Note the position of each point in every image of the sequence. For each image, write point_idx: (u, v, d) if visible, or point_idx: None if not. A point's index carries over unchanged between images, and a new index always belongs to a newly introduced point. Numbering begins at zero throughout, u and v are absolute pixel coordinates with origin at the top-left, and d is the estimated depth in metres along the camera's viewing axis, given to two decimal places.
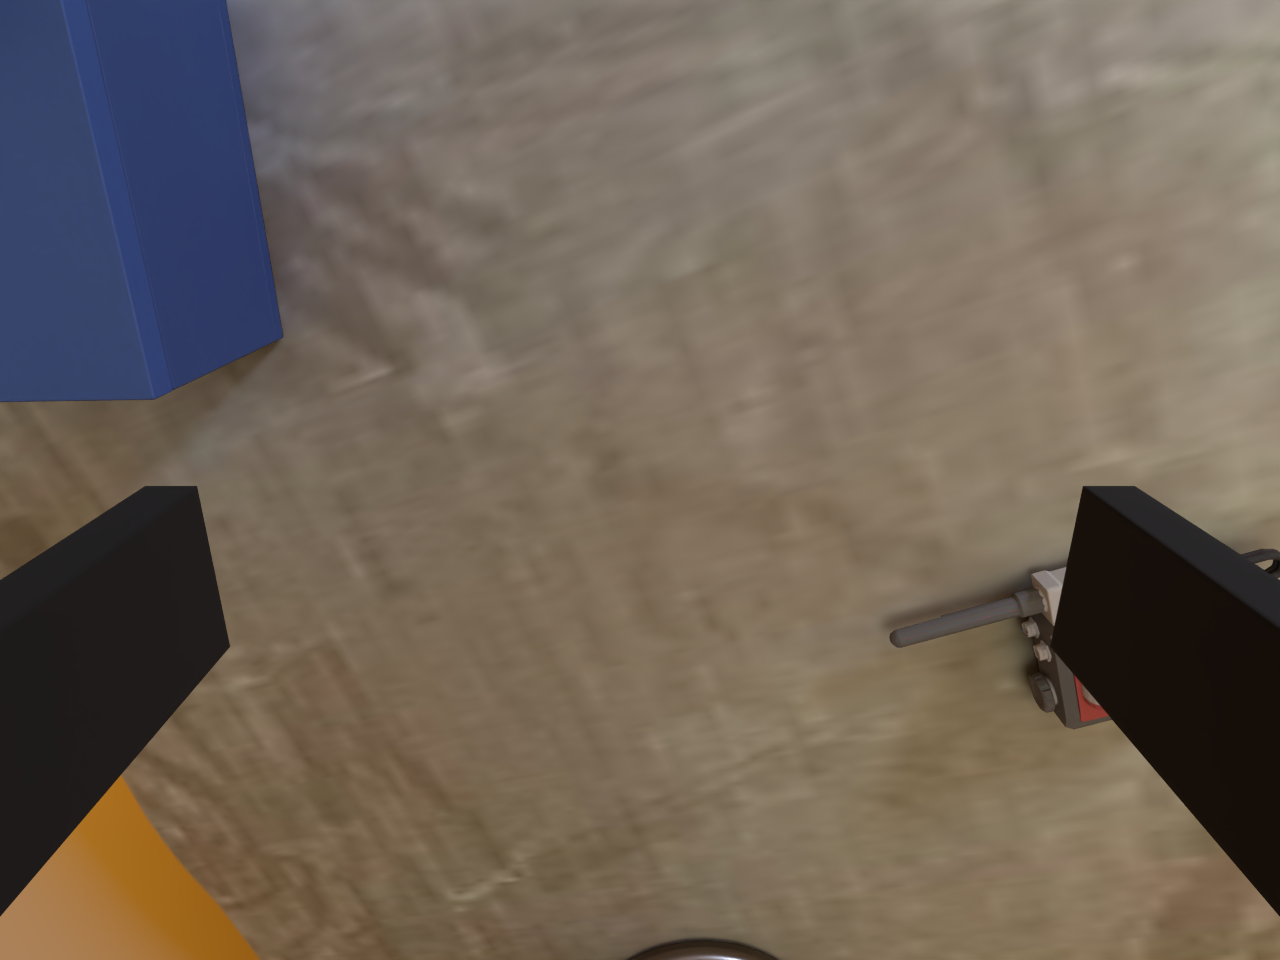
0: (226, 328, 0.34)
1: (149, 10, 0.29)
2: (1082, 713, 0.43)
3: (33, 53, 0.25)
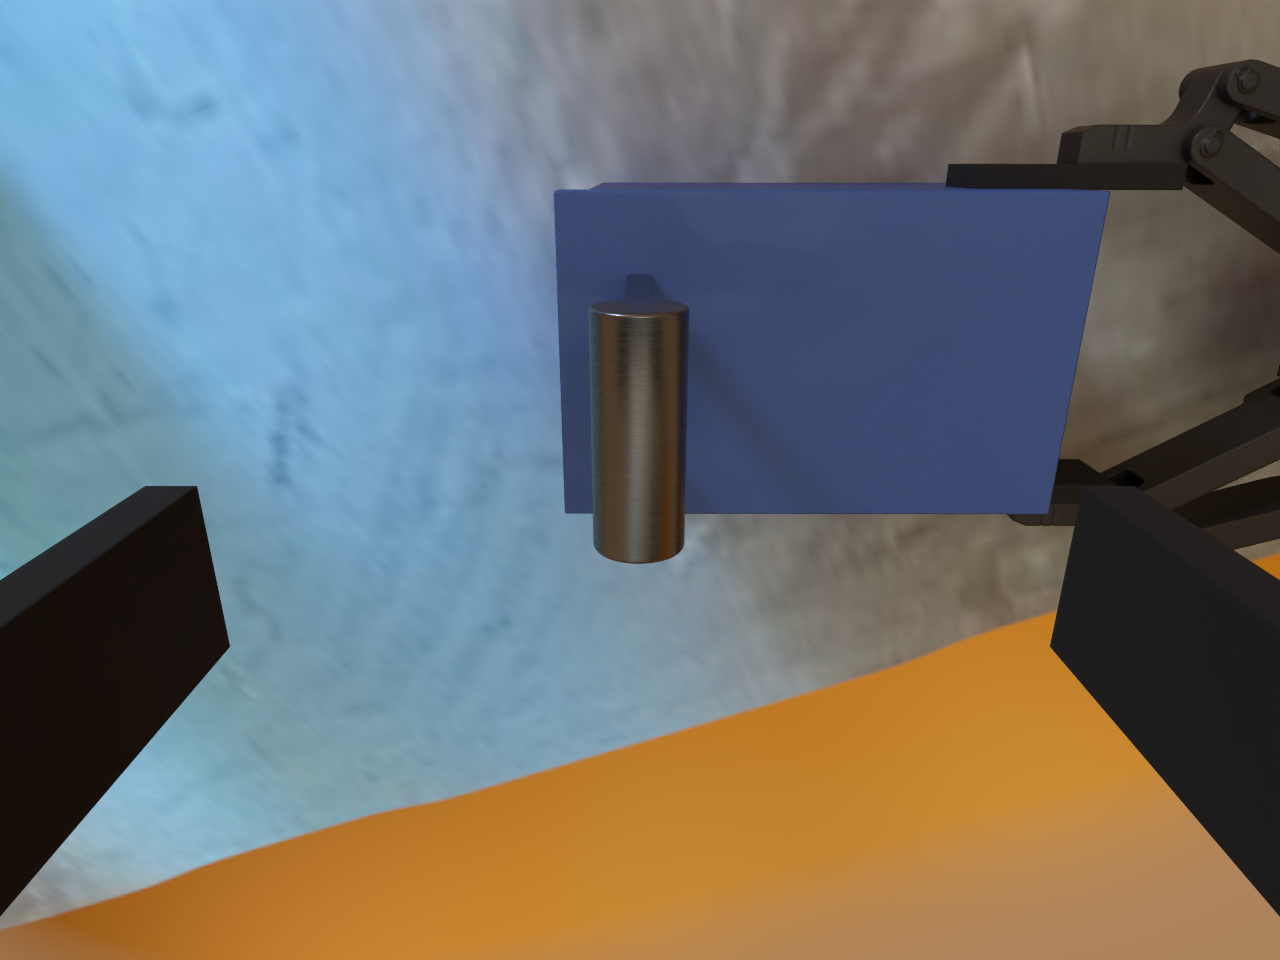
0: None
1: (658, 186, 0.28)
2: None
3: (726, 236, 0.24)
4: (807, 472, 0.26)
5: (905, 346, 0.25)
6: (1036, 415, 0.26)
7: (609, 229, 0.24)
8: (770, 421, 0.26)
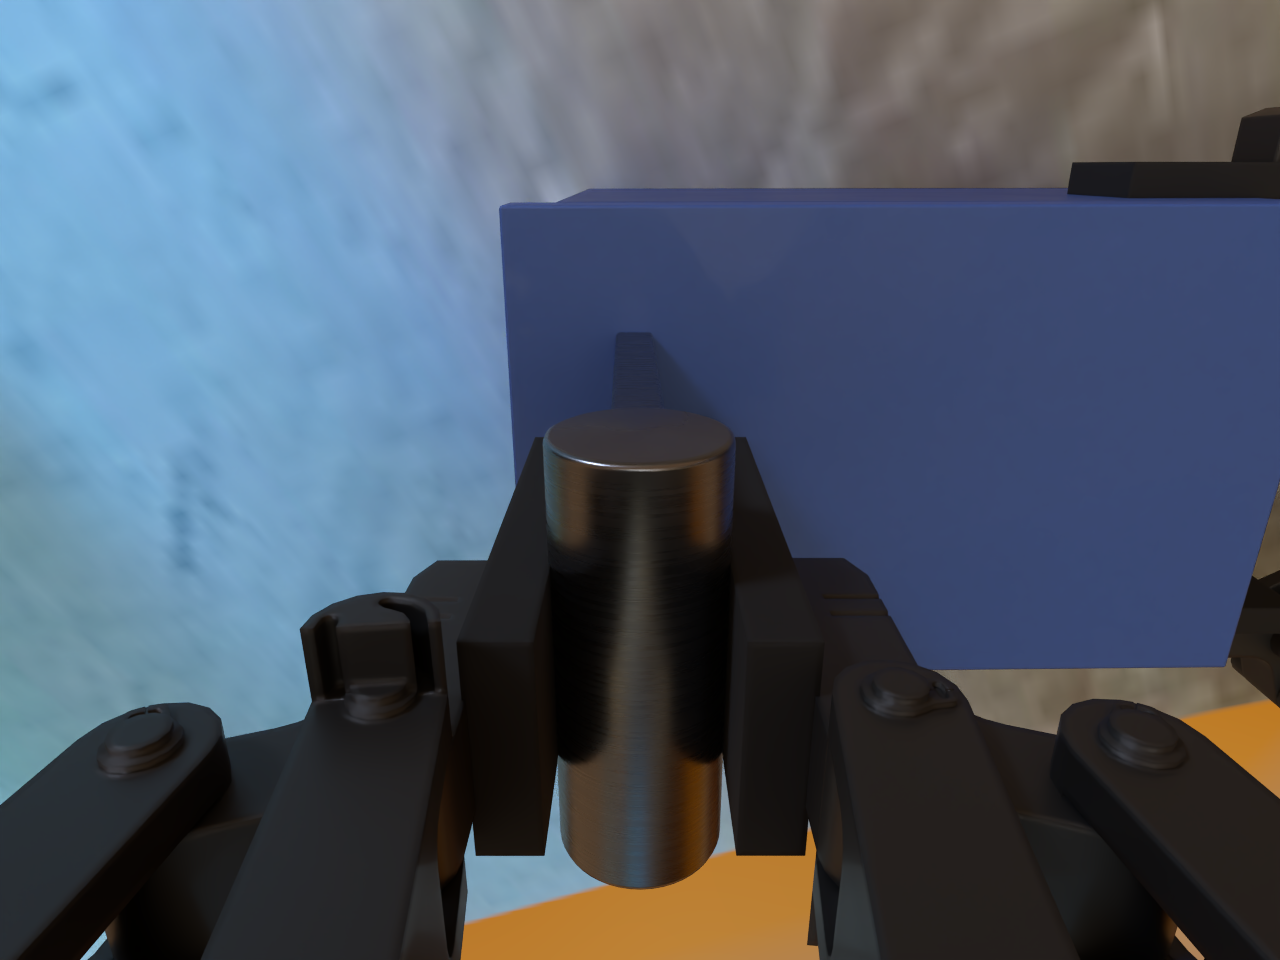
0: None
1: (662, 195, 0.20)
2: None
3: (768, 274, 0.15)
4: None
5: (1034, 436, 0.17)
6: (1220, 532, 0.17)
7: (586, 264, 0.15)
8: (829, 543, 0.17)
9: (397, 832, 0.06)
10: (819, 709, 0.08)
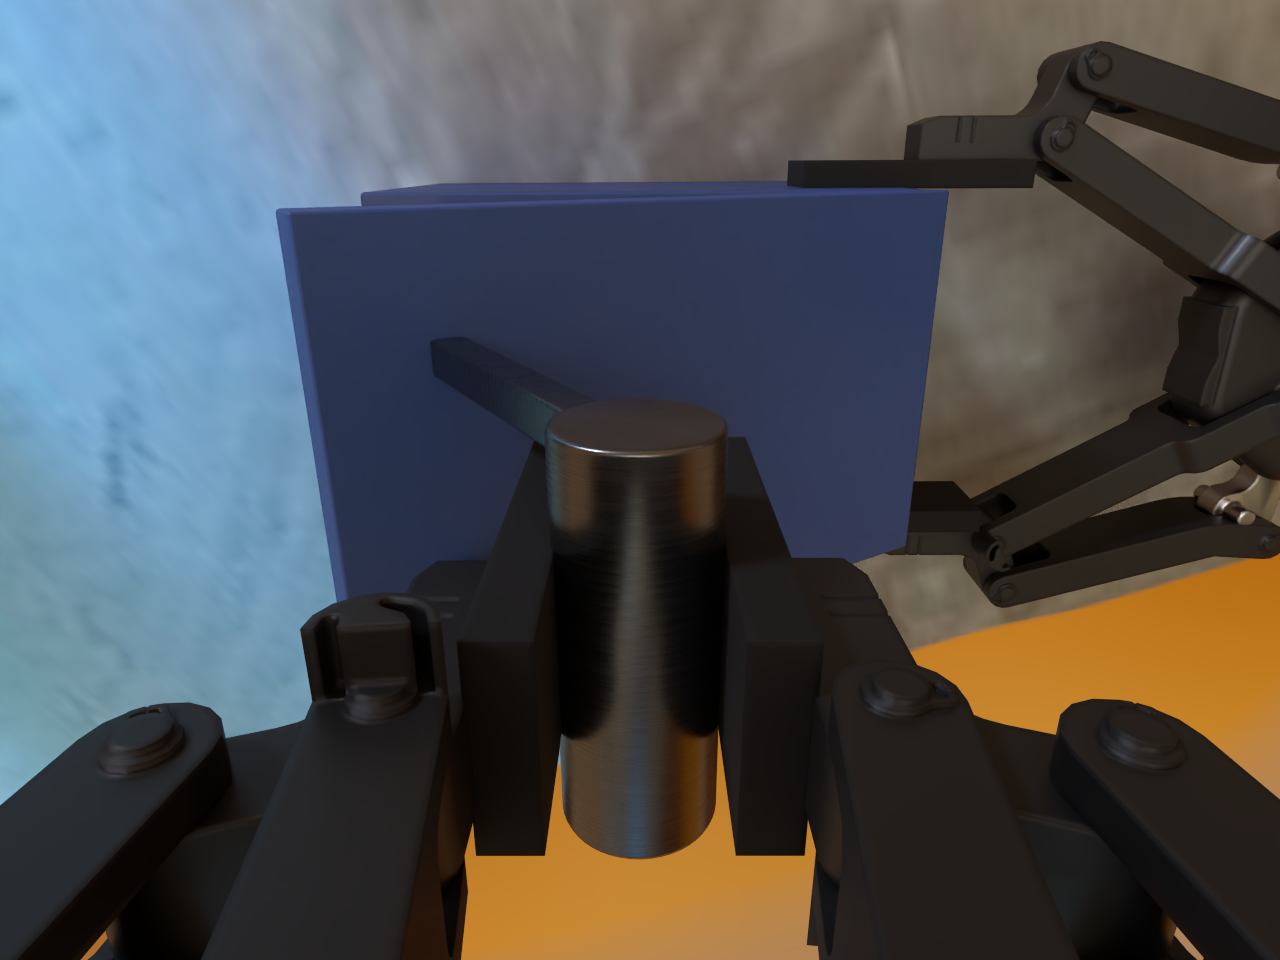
0: None
1: None
2: None
3: (566, 269, 0.16)
4: None
5: (777, 389, 0.20)
6: (894, 444, 0.23)
7: (392, 271, 0.14)
8: None
9: (398, 832, 0.06)
10: (818, 709, 0.08)
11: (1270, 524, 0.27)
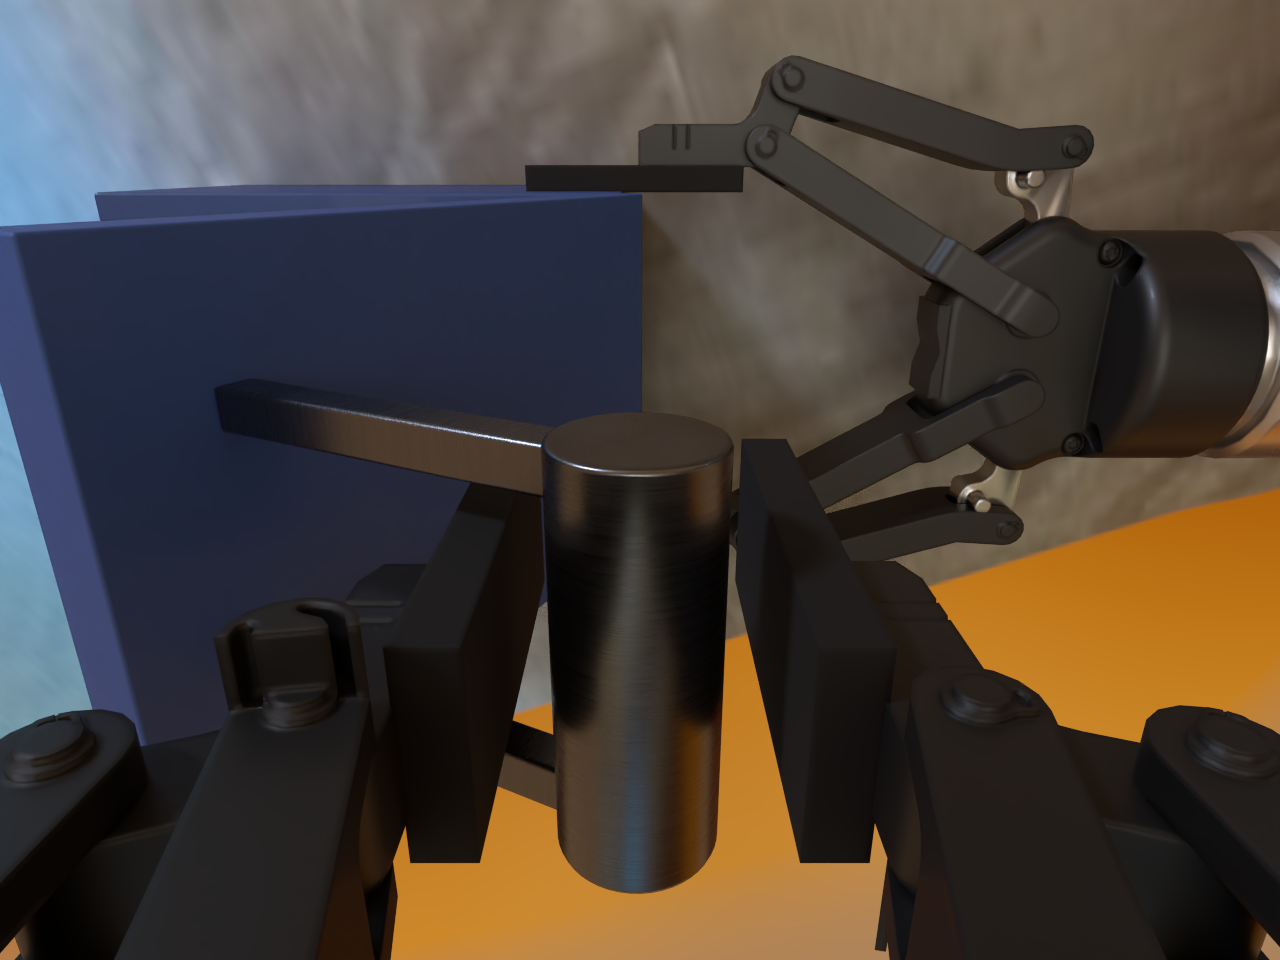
0: None
1: None
2: None
3: (349, 289, 0.14)
4: None
5: (541, 396, 0.20)
6: None
7: (159, 305, 0.11)
8: None
9: (314, 838, 0.06)
10: (890, 716, 0.08)
11: (1007, 512, 0.29)
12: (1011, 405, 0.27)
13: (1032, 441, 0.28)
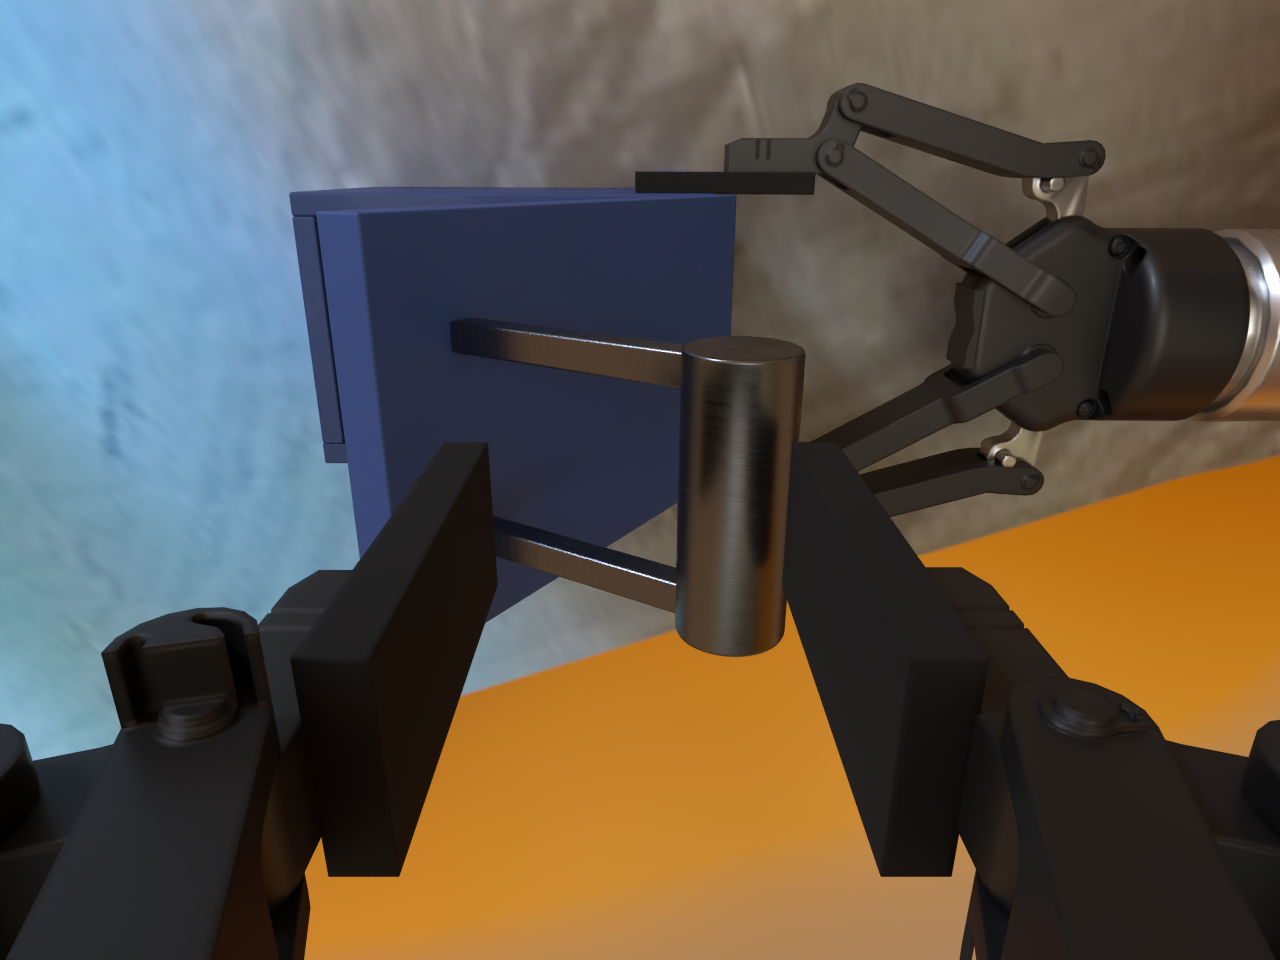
0: None
1: None
2: None
3: (531, 259, 0.20)
4: (603, 504, 0.24)
5: None
6: None
7: (425, 263, 0.17)
8: (576, 461, 0.23)
9: (210, 851, 0.06)
10: (981, 729, 0.08)
11: (1030, 467, 0.34)
12: (1034, 374, 0.32)
13: (1052, 406, 0.33)
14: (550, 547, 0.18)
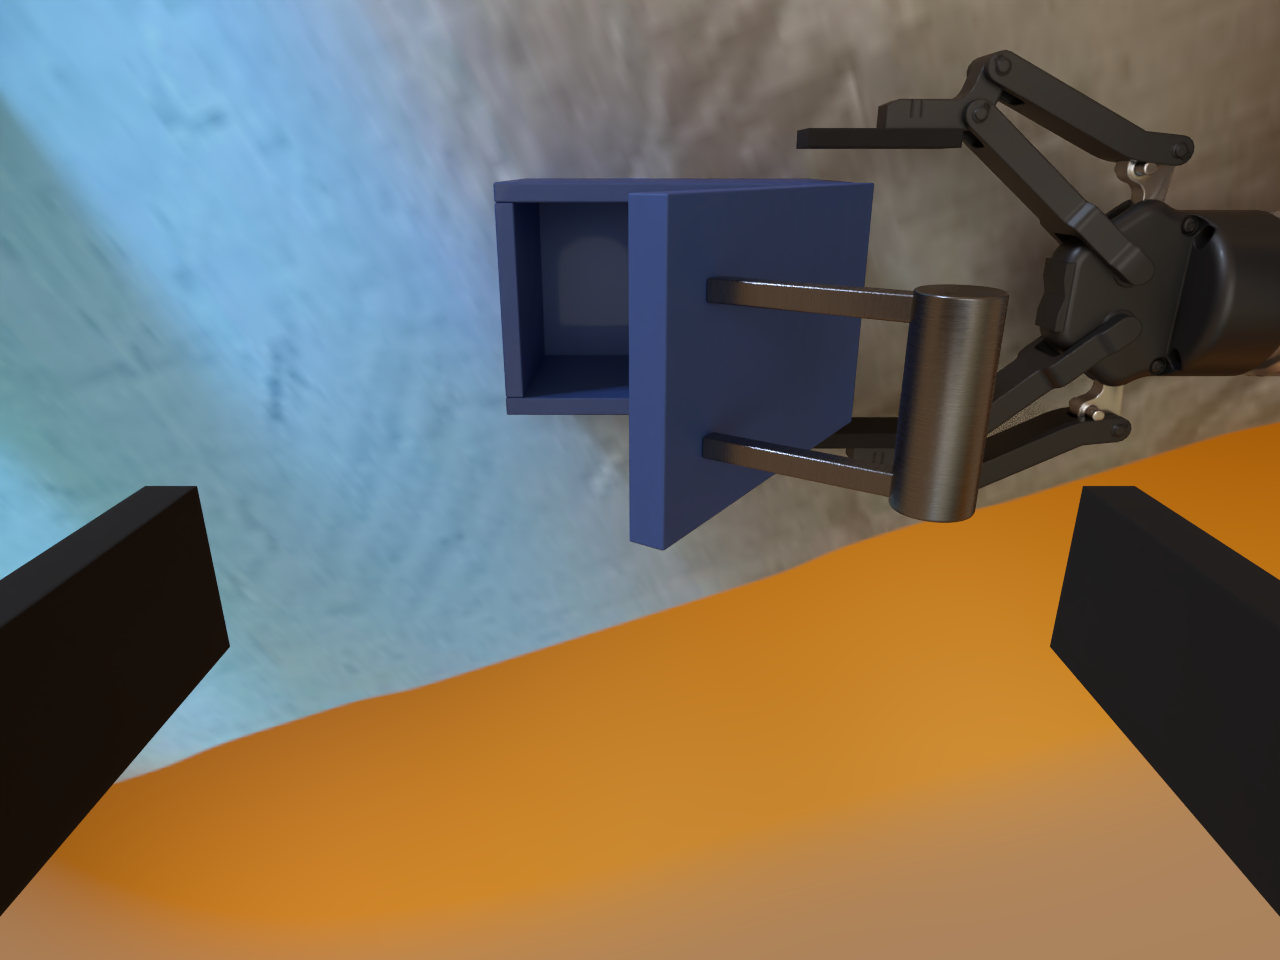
0: (800, 180, 0.38)
1: None
2: None
3: (752, 232, 0.25)
4: (777, 436, 0.30)
5: (815, 313, 0.31)
6: (850, 350, 0.35)
7: (697, 232, 0.22)
8: (765, 398, 0.28)
9: None
10: None
11: (1117, 417, 0.39)
12: (1118, 336, 0.37)
13: (1128, 363, 0.38)
14: (779, 453, 0.24)
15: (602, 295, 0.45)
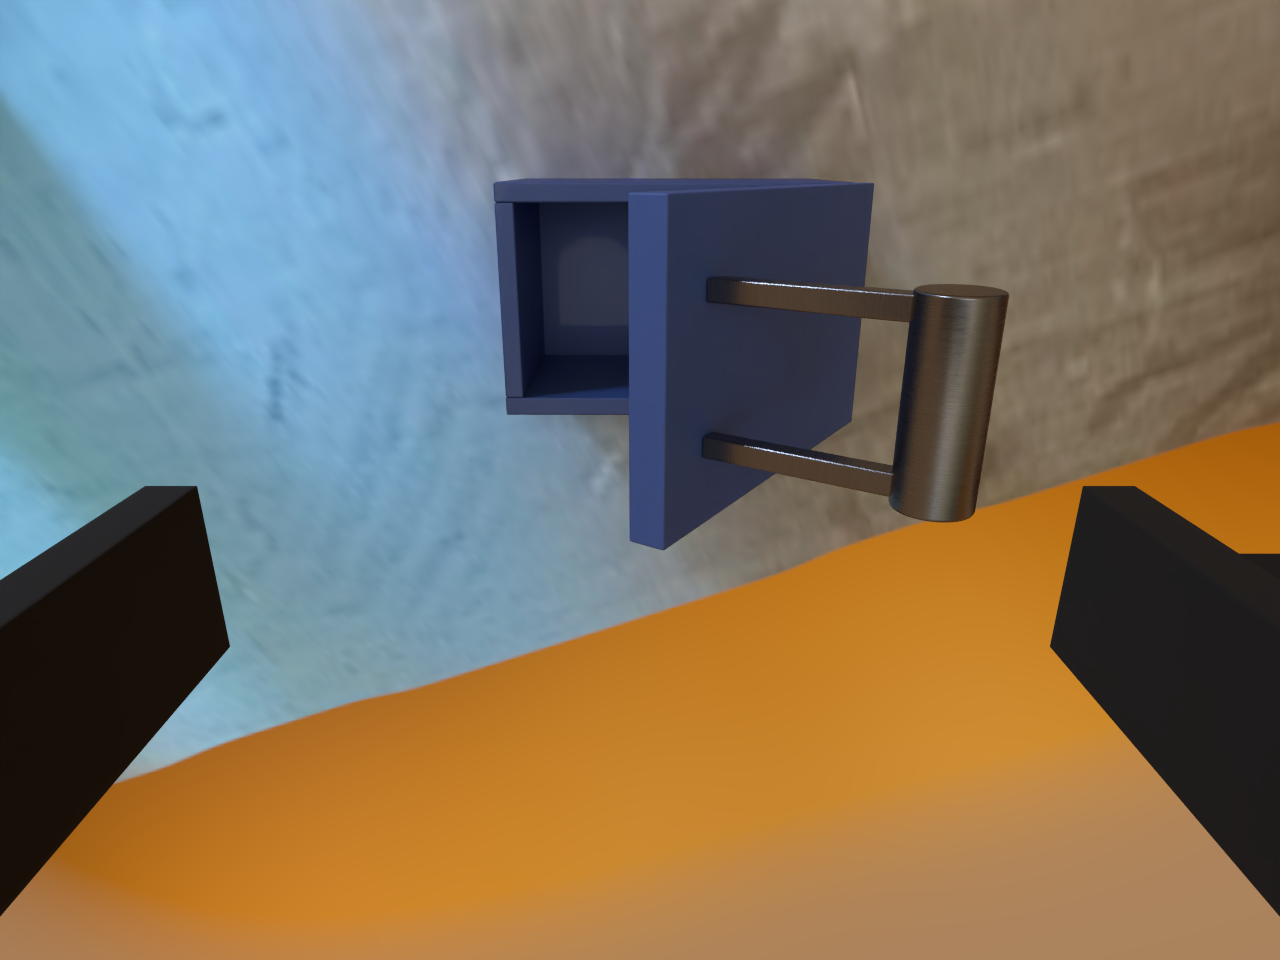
0: (800, 180, 0.38)
1: None
2: None
3: (752, 232, 0.25)
4: (777, 436, 0.30)
5: (815, 312, 0.31)
6: (850, 350, 0.35)
7: (697, 232, 0.22)
8: (765, 398, 0.28)
9: None
10: None
11: None
12: None
13: None
14: (779, 452, 0.24)
15: (602, 295, 0.45)
